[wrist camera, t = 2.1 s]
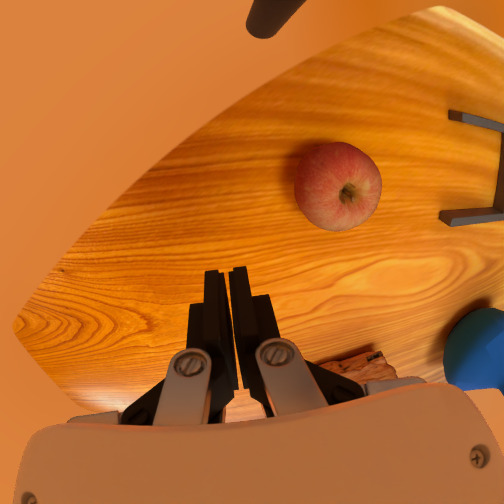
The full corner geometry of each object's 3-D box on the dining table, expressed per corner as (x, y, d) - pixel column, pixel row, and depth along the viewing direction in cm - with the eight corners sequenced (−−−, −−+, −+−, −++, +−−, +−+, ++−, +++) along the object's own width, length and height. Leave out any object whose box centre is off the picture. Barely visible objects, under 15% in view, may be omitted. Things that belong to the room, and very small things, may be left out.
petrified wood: (380, 333, 39) (408, 387, 32) (372, 364, 48) (393, 408, 41) (260, 378, 40) (276, 439, 32) (277, 401, 48) (290, 448, 41)
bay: (448, 109, 24) (462, 112, 22) (506, 125, 25) (518, 128, 23) (438, 219, 31) (450, 227, 29) (495, 213, 32) (505, 220, 30)
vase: (503, 294, 43) (553, 350, 26) (462, 357, 51) (499, 413, 34) (464, 289, 39) (528, 363, 22) (415, 364, 47) (456, 437, 31)
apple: (269, 190, 28) (287, 222, 21) (311, 121, 25) (346, 129, 18) (331, 225, 30) (363, 263, 23) (371, 165, 27) (415, 187, 20)
